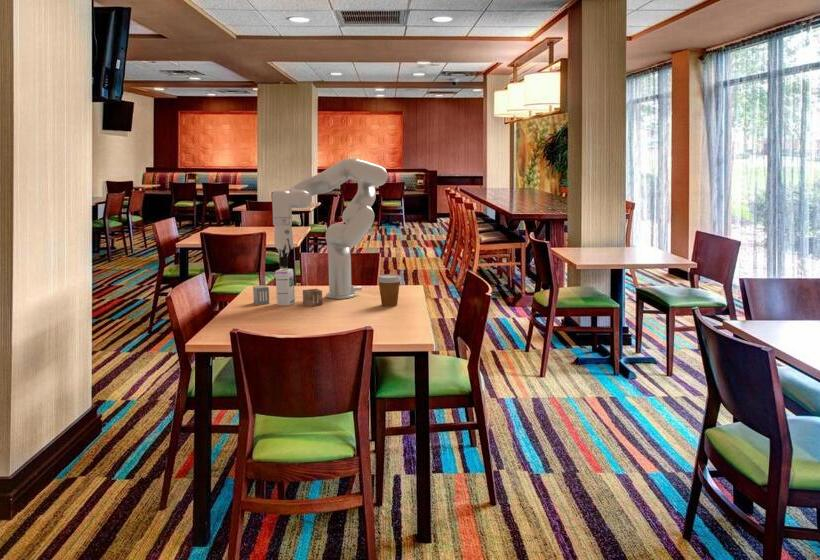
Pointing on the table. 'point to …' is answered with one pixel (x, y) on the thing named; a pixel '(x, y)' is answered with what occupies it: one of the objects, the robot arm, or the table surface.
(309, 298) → the walnut cube
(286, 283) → the syrup box
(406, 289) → the table surface
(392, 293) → the disposable coffee cup
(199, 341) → the table surface
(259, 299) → the slate block
